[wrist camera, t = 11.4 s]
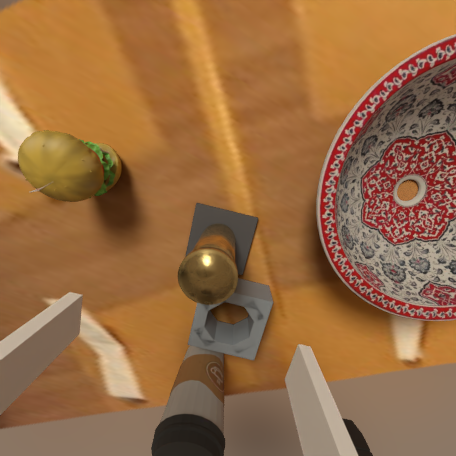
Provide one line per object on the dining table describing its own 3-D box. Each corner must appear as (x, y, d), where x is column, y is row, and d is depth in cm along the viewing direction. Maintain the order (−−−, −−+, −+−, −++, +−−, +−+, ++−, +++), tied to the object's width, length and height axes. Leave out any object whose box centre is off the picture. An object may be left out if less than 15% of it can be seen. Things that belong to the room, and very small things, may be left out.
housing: (193, 324, 36) (187, 344, 32) (206, 270, 34) (201, 284, 29) (252, 338, 36) (253, 360, 32) (268, 285, 34) (273, 302, 30)
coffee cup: (239, 358, 38) (240, 474, 23) (202, 380, 39) (181, 502, 25) (209, 324, 36) (189, 425, 22) (171, 348, 38) (130, 458, 23)
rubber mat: (185, 259, 34) (184, 260, 33) (197, 202, 31) (196, 203, 31) (242, 273, 34) (242, 274, 33) (257, 217, 31) (258, 218, 31)
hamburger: (120, 134, 30) (44, 109, 18) (140, 186, 31) (82, 194, 20) (71, 152, 30) (-33, 139, 19) (93, 202, 32) (10, 218, 20)
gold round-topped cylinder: (195, 253, 33) (173, 297, 21) (203, 217, 31) (183, 243, 20) (232, 261, 33) (229, 310, 21) (241, 226, 31) (244, 257, 20)
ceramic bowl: (506, 17, 25) (629, -55, 17) (539, 242, 30) (641, 266, 23) (265, 134, 29) (275, 120, 21) (335, 313, 35) (363, 353, 27)
